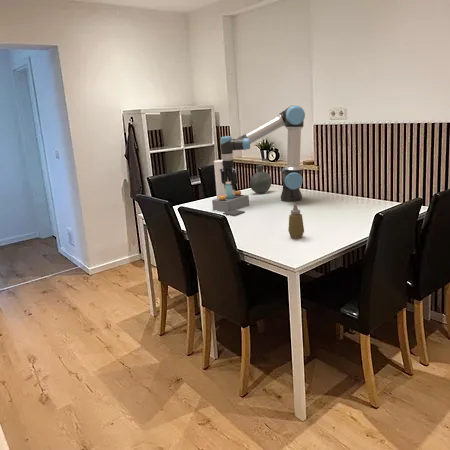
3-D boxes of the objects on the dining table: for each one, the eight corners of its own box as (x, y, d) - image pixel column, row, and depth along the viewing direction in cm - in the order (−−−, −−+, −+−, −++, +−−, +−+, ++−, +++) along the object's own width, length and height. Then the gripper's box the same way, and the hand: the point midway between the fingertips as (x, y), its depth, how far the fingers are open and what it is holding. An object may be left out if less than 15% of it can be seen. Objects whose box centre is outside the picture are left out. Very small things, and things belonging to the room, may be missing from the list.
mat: (244, 212, 287) (244, 211, 287) (234, 216, 280) (234, 214, 280) (233, 211, 294) (233, 209, 293) (223, 214, 287) (223, 213, 286)
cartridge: (236, 207, 304) (234, 181, 299) (231, 208, 300) (229, 182, 295) (230, 206, 307) (228, 181, 303) (225, 208, 304) (223, 182, 299)
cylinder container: (228, 201, 324) (225, 160, 316) (215, 201, 326) (212, 161, 318) (230, 198, 333) (227, 158, 325) (218, 199, 335) (215, 159, 327)
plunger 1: (228, 208, 298) (227, 195, 296) (223, 210, 295) (222, 196, 292) (223, 207, 301) (222, 194, 299) (218, 209, 298) (217, 196, 295)
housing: (249, 205, 307) (248, 195, 305) (228, 212, 291) (227, 202, 290) (234, 203, 316) (233, 193, 314) (212, 210, 301) (212, 200, 299)
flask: (250, 192, 349) (248, 165, 343) (271, 191, 349) (270, 163, 343) (251, 195, 338) (249, 167, 332) (273, 193, 337) (271, 165, 332)
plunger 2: (243, 203, 309) (242, 190, 307) (239, 204, 306) (238, 192, 304) (238, 202, 312) (237, 190, 310) (234, 204, 309) (233, 191, 307)
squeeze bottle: (287, 235, 231) (285, 202, 226) (302, 234, 232) (301, 201, 227) (290, 240, 223) (289, 205, 219) (306, 238, 224) (305, 204, 219)
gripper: (214, 160, 298) (217, 194, 304) (233, 161, 286) (236, 196, 293) (221, 158, 304) (224, 191, 310) (241, 159, 292) (243, 193, 298)
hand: (230, 193), depth 301 cm, fingers closed on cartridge, 5 cm apart
